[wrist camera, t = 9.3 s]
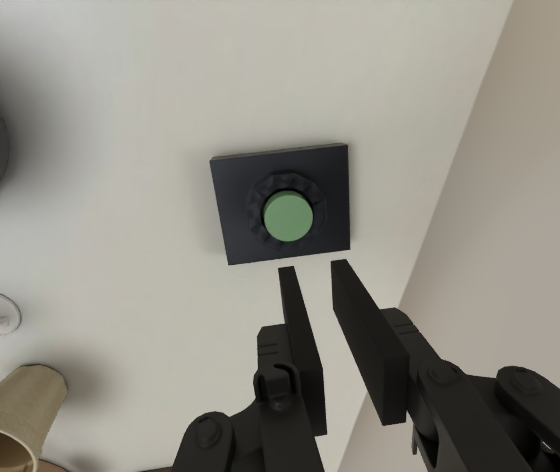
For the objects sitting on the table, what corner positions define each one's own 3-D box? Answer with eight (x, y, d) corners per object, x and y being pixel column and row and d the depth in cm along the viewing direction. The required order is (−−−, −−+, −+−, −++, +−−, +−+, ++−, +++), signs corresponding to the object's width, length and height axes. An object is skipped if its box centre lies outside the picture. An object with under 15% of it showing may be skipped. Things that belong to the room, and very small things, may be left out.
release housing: (341, 142, 29) (354, 146, 25) (344, 241, 33) (356, 257, 29) (212, 157, 29) (206, 163, 25) (229, 256, 32) (227, 274, 29)
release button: (307, 187, 27) (311, 192, 25) (310, 231, 28) (314, 238, 27) (261, 193, 27) (261, 198, 25) (266, 237, 28) (267, 244, 26)
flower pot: (77, 420, 38) (31, 501, 30) (-9, 407, 37) (-82, 489, 28) (88, 362, 35) (41, 434, 27) (-5, 344, 34) (-85, 415, 26)
